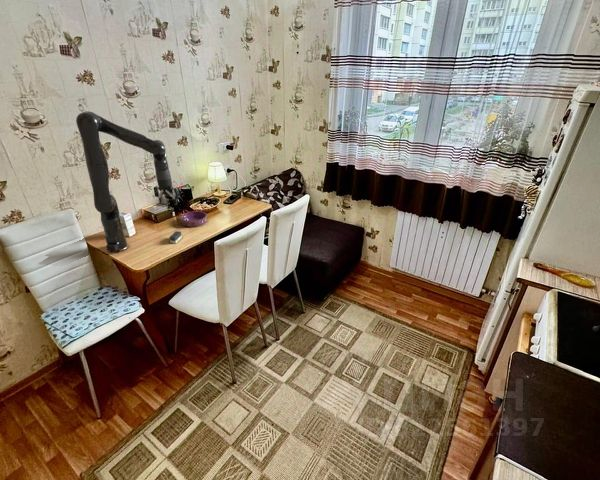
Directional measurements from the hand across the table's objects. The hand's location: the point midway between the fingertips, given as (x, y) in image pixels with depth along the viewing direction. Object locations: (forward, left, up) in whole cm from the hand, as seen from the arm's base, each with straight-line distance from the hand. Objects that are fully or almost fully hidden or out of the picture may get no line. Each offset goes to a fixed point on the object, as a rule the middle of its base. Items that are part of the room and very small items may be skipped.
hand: (169, 204), depth 180 cm
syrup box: (+2, +33, -24) cm, 41 cm away
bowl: (+27, 0, -24) cm, 36 cm away
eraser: (0, 0, -24) cm, 24 cm away
